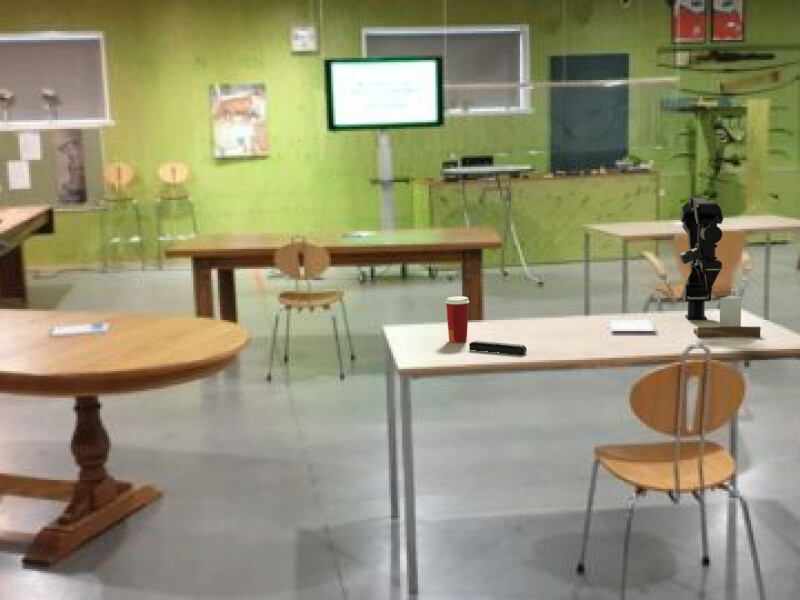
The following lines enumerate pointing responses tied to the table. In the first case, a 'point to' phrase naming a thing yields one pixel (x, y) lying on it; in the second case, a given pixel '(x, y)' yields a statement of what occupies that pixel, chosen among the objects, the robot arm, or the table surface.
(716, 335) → the brown angular block
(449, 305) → the paper cup
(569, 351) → the table surface
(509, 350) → the black long bar
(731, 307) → the skincare box
